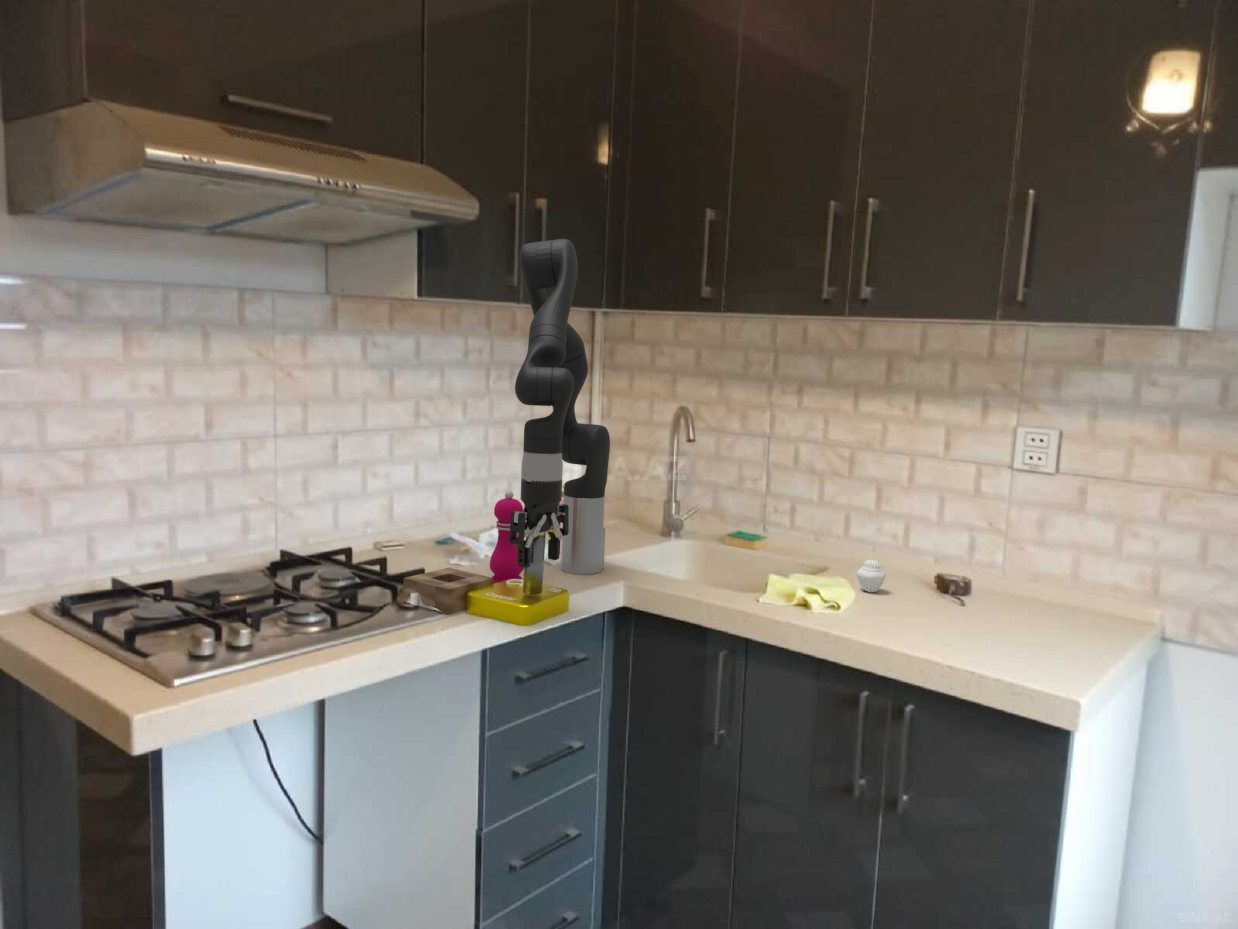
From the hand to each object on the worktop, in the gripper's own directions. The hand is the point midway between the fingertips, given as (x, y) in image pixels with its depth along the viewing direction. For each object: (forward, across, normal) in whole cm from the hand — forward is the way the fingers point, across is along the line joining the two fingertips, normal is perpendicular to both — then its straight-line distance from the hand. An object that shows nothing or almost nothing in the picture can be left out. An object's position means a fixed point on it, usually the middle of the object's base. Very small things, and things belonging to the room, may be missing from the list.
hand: (538, 563), depth 174 cm
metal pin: (+6, 0, -1) cm, 6 cm away
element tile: (+11, 0, -5) cm, 12 cm away
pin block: (+10, +5, -18) cm, 21 cm away
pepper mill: (+10, -13, -19) cm, 25 cm away
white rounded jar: (+10, -65, +40) cm, 77 cm away
